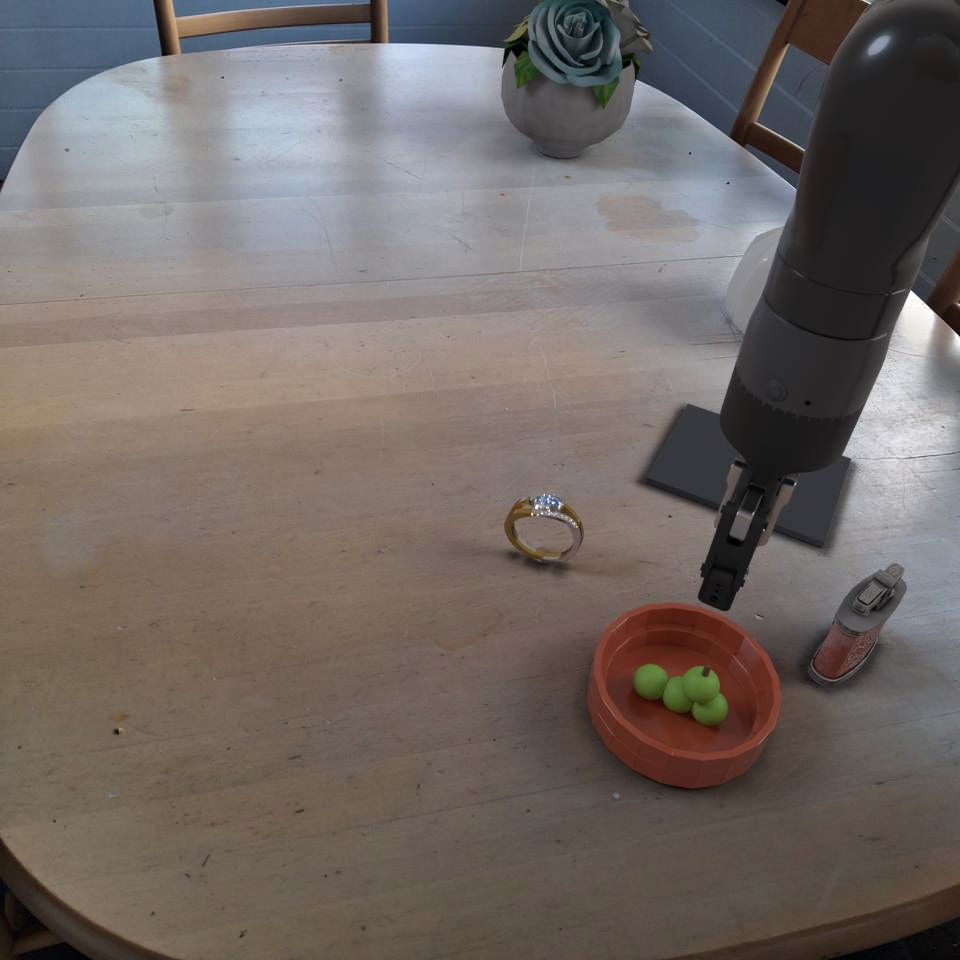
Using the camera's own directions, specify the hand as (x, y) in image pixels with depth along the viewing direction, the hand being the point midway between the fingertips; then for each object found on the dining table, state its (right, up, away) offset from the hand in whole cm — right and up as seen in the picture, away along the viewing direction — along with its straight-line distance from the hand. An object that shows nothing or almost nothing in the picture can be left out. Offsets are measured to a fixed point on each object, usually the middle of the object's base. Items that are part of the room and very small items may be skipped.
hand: (731, 561), depth 62 cm
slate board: (+10, +6, +31) cm, 33 cm away
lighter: (+13, -9, +14) cm, 22 cm away
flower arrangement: (-4, +61, +88) cm, 107 cm away
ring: (-12, -2, +21) cm, 24 cm away
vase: (+20, +24, +51) cm, 60 cm away
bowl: (-2, -13, +10) cm, 16 cm away
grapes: (-2, -12, +9) cm, 15 cm away
